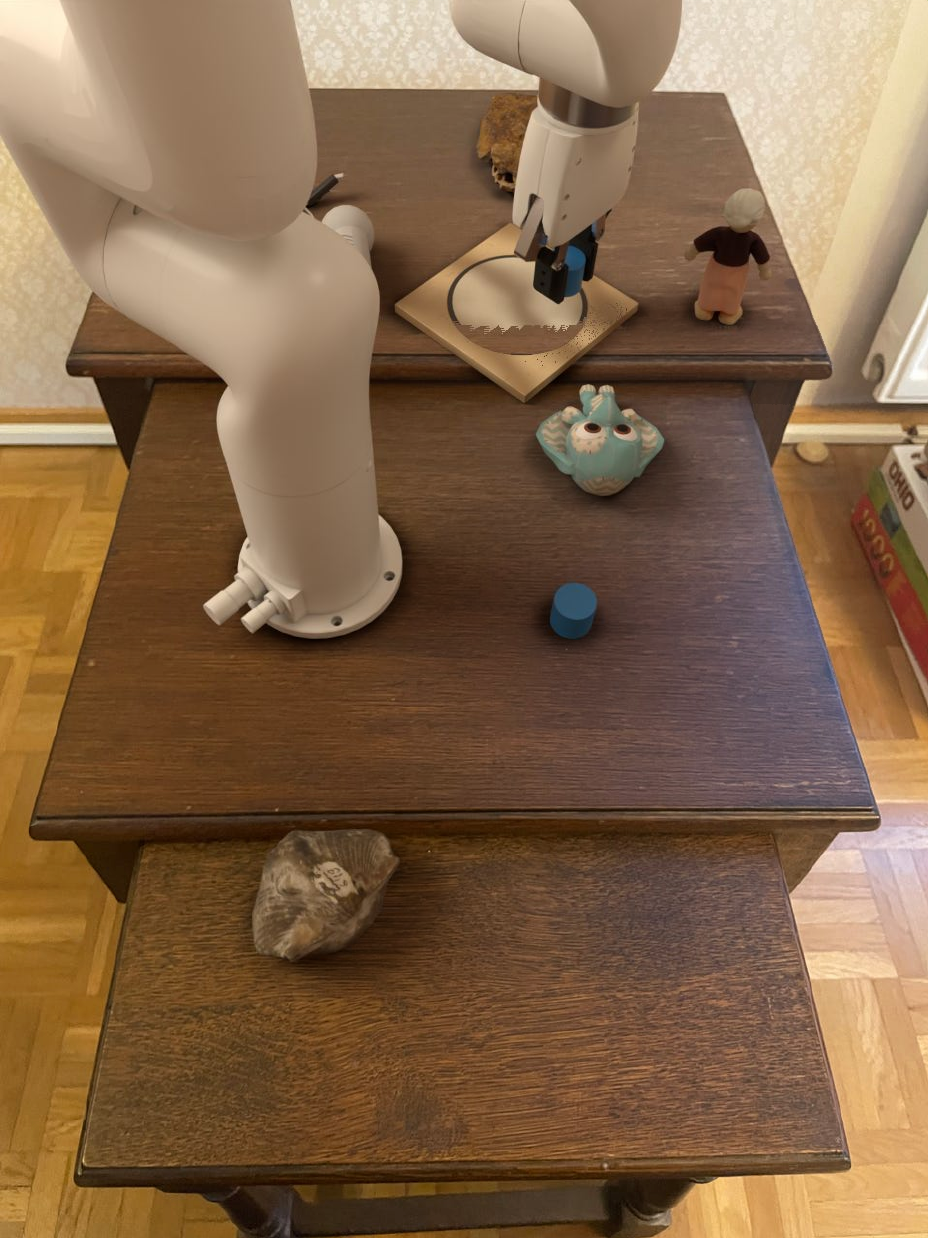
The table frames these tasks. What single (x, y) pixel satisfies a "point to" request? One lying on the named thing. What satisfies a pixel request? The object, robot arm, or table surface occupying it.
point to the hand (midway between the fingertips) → (562, 282)
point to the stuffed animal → (599, 442)
